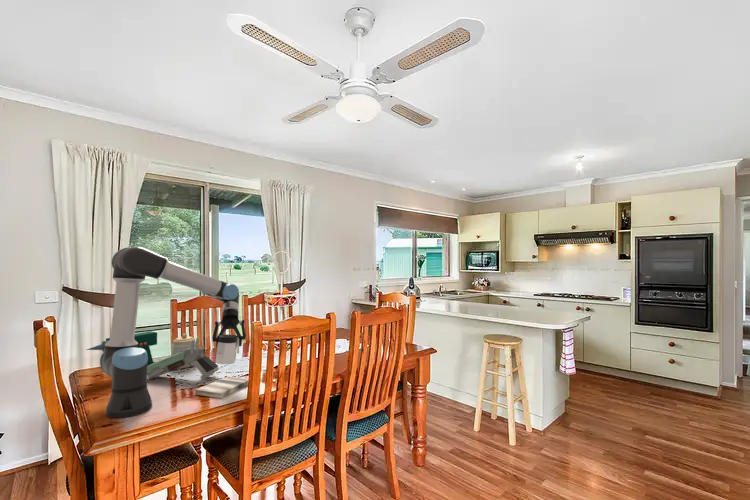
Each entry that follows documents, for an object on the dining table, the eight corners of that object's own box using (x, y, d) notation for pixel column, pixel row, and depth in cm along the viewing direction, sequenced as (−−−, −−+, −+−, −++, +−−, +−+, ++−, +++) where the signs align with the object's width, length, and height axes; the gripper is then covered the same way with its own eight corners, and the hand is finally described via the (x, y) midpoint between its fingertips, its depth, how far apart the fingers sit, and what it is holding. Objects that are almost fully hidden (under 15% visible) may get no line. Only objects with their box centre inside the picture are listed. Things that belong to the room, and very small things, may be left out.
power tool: (88, 386, 173) (89, 343, 174) (81, 384, 177) (82, 342, 177) (158, 369, 200) (158, 332, 201) (151, 367, 204) (151, 331, 204)
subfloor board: (220, 398, 159) (220, 393, 159) (195, 394, 163) (195, 389, 163) (250, 383, 178) (250, 379, 178) (227, 380, 182) (227, 376, 182)
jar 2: (239, 361, 174) (242, 336, 175) (226, 365, 167) (229, 338, 168) (224, 358, 178) (227, 333, 178) (211, 362, 170) (214, 335, 171)
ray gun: (215, 374, 183) (200, 336, 183) (154, 399, 182) (139, 361, 183) (221, 370, 190) (206, 333, 190) (162, 394, 189) (148, 357, 190)
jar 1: (172, 363, 212) (173, 332, 212) (197, 361, 216) (198, 330, 217) (168, 369, 200) (169, 336, 200) (195, 367, 204) (195, 335, 204)
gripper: (251, 315, 192) (251, 355, 176) (209, 318, 185) (205, 359, 170) (251, 306, 187) (251, 346, 171) (208, 308, 180) (203, 350, 165)
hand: (228, 352), depth 170 cm, fingers closed on jar 2, 7 cm apart
